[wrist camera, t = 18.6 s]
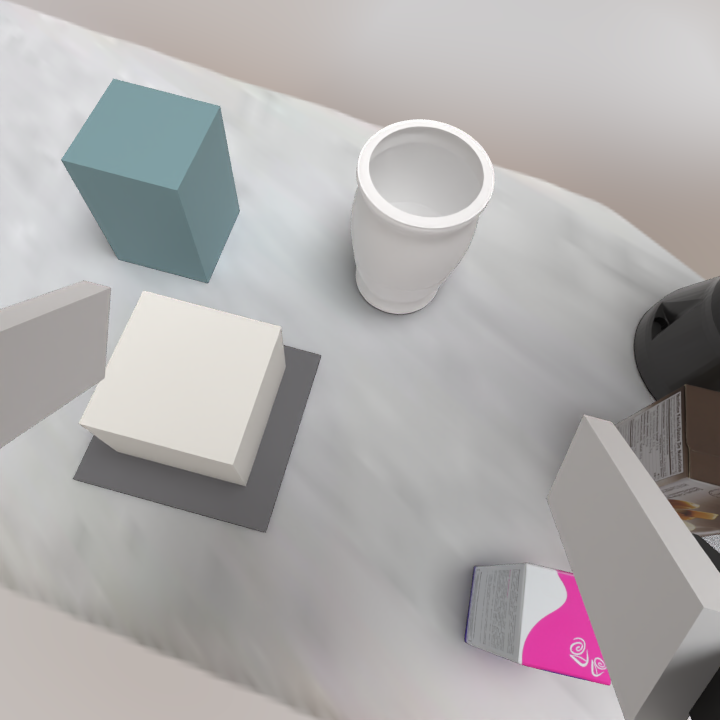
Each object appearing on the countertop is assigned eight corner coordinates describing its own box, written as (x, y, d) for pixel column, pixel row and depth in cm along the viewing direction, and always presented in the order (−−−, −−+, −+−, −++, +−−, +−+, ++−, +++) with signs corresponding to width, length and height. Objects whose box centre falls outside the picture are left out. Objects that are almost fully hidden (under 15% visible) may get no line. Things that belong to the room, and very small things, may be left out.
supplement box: (462, 645, 41) (514, 663, 31) (473, 564, 43) (524, 555, 33) (537, 663, 41) (614, 688, 31) (543, 581, 43) (617, 578, 33)
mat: (320, 356, 50) (320, 355, 49) (265, 532, 43) (265, 532, 43) (154, 312, 50) (153, 310, 50) (75, 479, 43) (73, 478, 43)
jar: (389, 217, 57) (414, 97, 43) (469, 274, 55) (522, 167, 41) (323, 282, 53) (327, 172, 39) (406, 345, 51) (441, 253, 37)
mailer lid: (285, 367, 48) (281, 326, 41) (245, 486, 44) (232, 465, 37) (168, 335, 49) (143, 290, 41) (116, 451, 44) (78, 423, 37)
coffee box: (672, 469, 48) (831, 415, 33) (673, 543, 46) (846, 519, 31) (572, 445, 48) (686, 380, 34) (567, 517, 46) (689, 481, 31)
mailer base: (239, 211, 55) (220, 106, 43) (208, 283, 52) (177, 190, 40) (155, 188, 55) (113, 78, 44) (118, 259, 52) (61, 160, 40)
